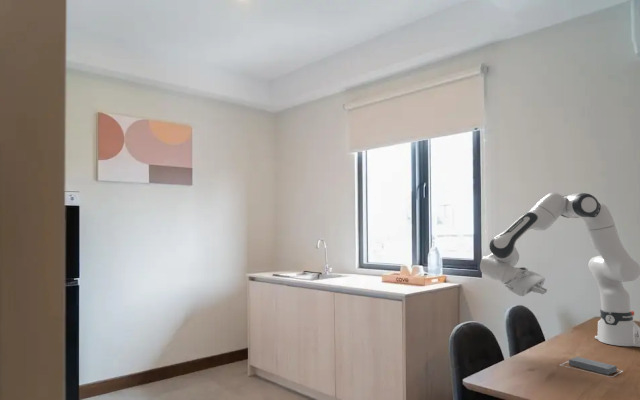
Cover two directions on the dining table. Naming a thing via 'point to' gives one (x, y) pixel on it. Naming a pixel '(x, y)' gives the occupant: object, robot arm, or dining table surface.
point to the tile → (593, 365)
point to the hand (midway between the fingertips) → (545, 291)
